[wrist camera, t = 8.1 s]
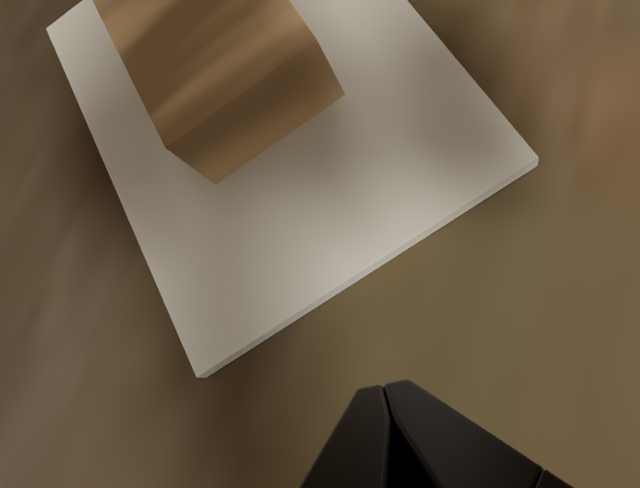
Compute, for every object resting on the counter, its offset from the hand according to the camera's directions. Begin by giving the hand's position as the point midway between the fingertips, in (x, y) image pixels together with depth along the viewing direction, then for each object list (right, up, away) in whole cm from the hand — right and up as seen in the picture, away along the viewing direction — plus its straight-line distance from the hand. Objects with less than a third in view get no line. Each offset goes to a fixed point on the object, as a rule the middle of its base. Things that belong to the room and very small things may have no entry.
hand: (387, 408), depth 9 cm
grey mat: (-4, +10, +17) cm, 21 cm away
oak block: (-3, +8, +13) cm, 16 cm away
